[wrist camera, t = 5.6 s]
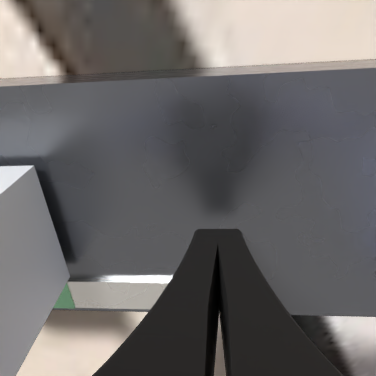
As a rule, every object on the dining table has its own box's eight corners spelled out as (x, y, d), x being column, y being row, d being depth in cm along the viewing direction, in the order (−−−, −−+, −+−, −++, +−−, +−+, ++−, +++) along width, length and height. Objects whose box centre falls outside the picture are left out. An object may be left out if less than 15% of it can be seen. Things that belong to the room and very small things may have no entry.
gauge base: (446, 55, 10) (915, 146, 3) (373, 289, 15) (502, 515, 8) (-232, 90, 12) (-760, 186, 6) (-101, 282, 17) (-300, 454, 10)
